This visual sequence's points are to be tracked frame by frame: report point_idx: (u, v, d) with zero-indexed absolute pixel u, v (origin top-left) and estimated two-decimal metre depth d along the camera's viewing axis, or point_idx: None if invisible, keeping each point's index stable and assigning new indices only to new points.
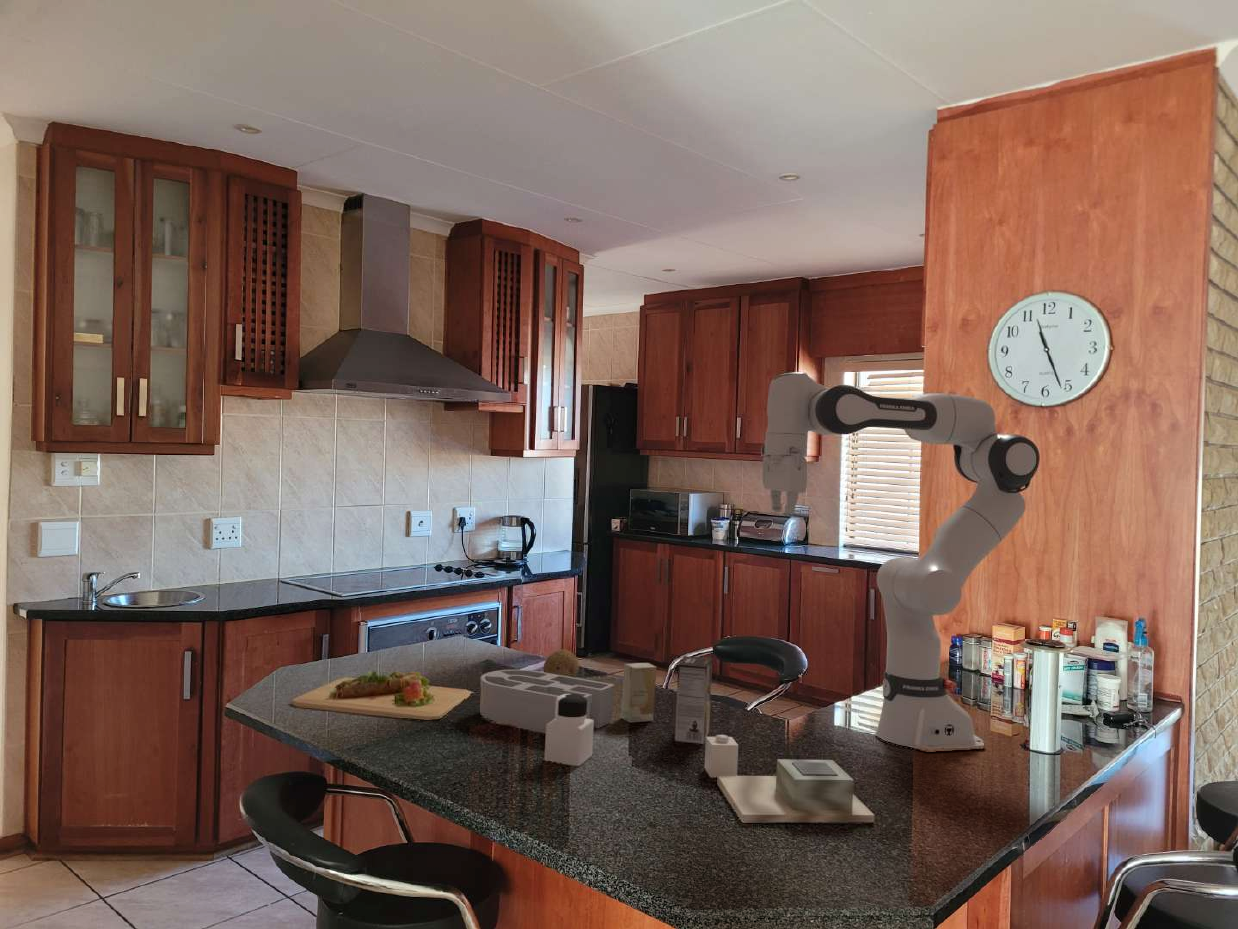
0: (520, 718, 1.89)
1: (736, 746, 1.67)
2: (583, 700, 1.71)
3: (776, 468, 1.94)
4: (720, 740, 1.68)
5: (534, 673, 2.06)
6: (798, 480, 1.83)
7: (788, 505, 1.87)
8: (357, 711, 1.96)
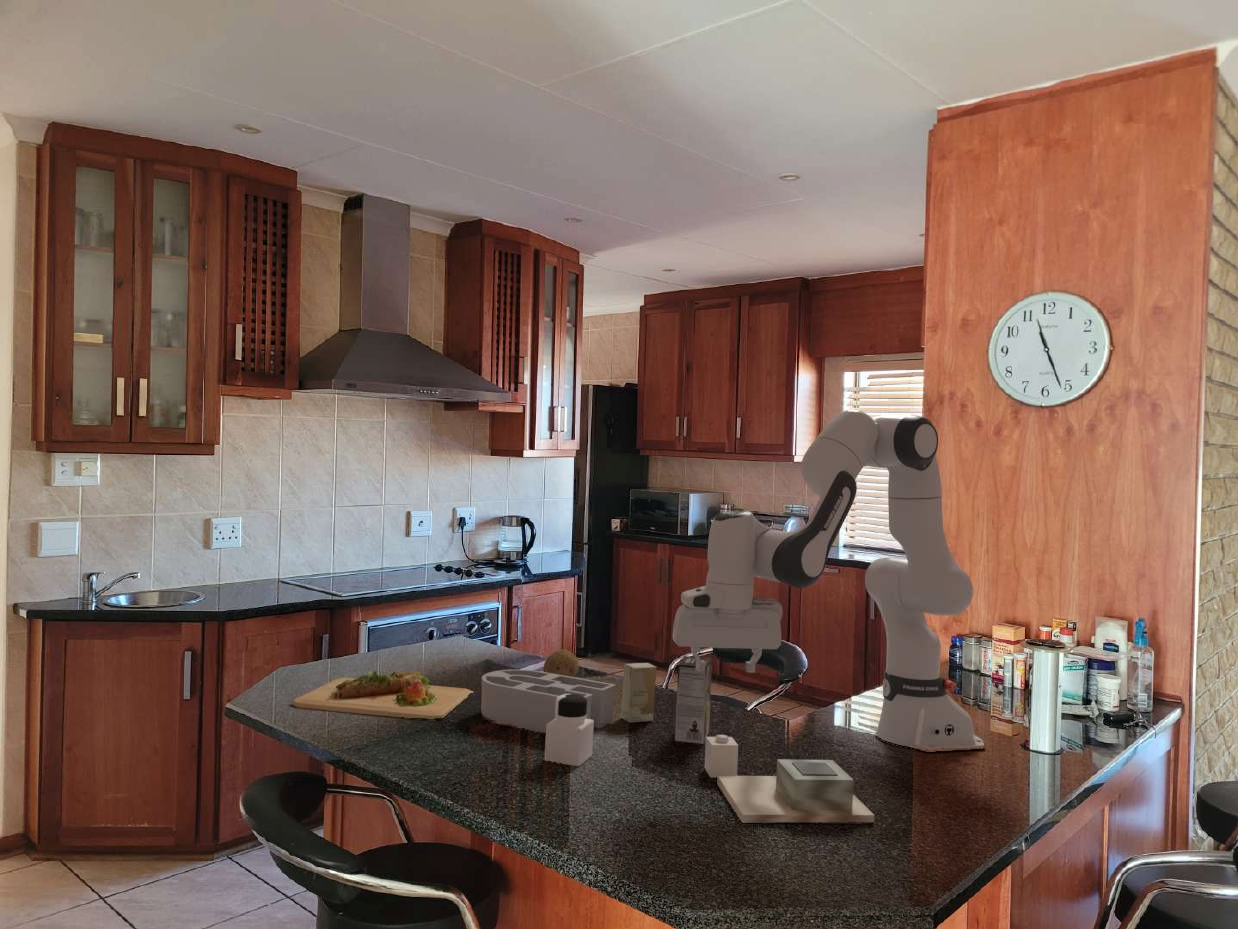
0: (521, 718, 1.89)
1: (736, 746, 1.67)
2: (583, 700, 1.71)
3: (721, 622, 1.67)
4: (720, 740, 1.68)
5: (535, 673, 2.06)
6: None
7: None
8: (360, 711, 1.96)
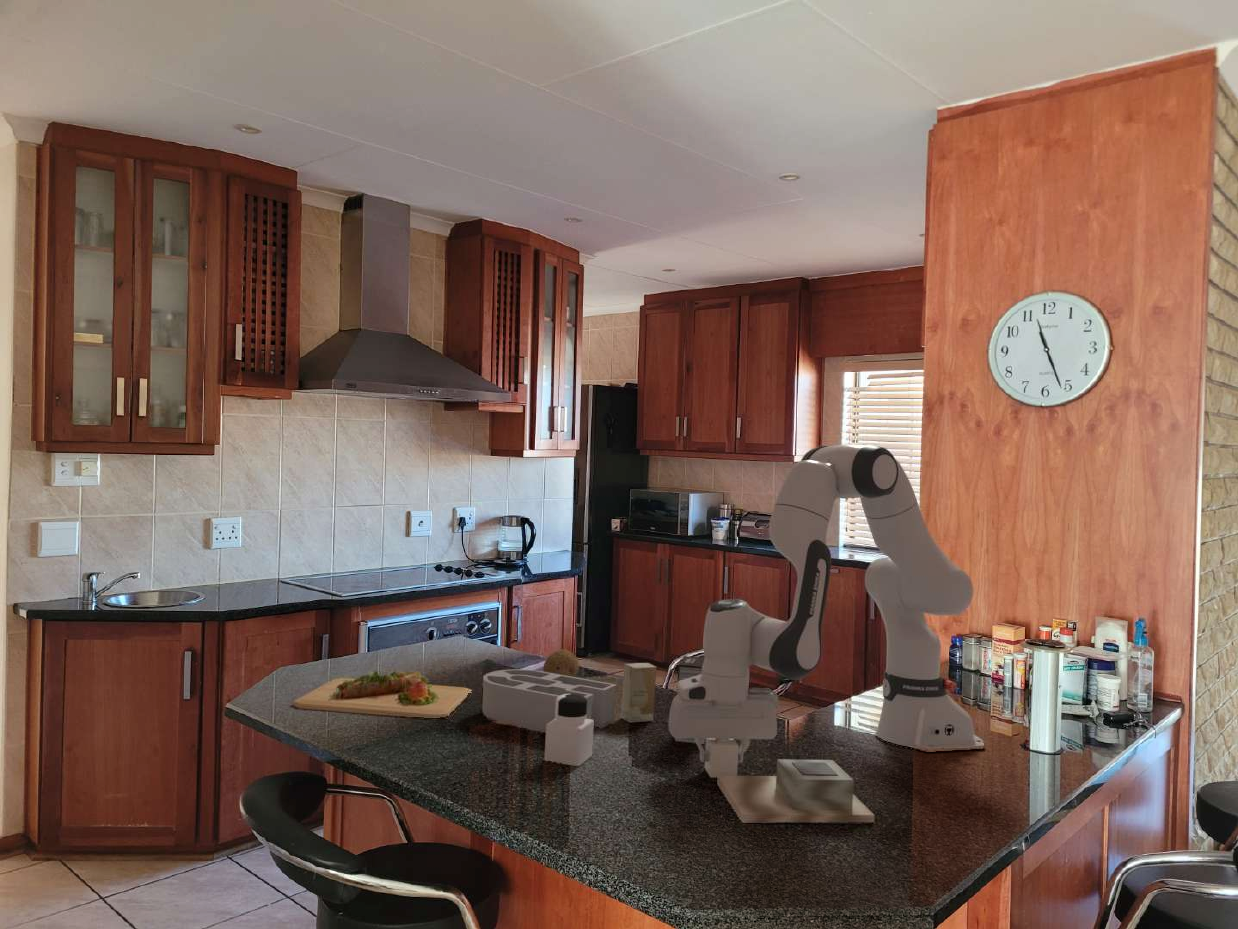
0: (522, 717, 1.90)
1: (736, 746, 1.67)
2: (583, 700, 1.71)
3: (717, 713, 1.67)
4: (721, 740, 1.68)
5: (537, 673, 2.06)
6: None
7: None
8: (363, 711, 1.96)
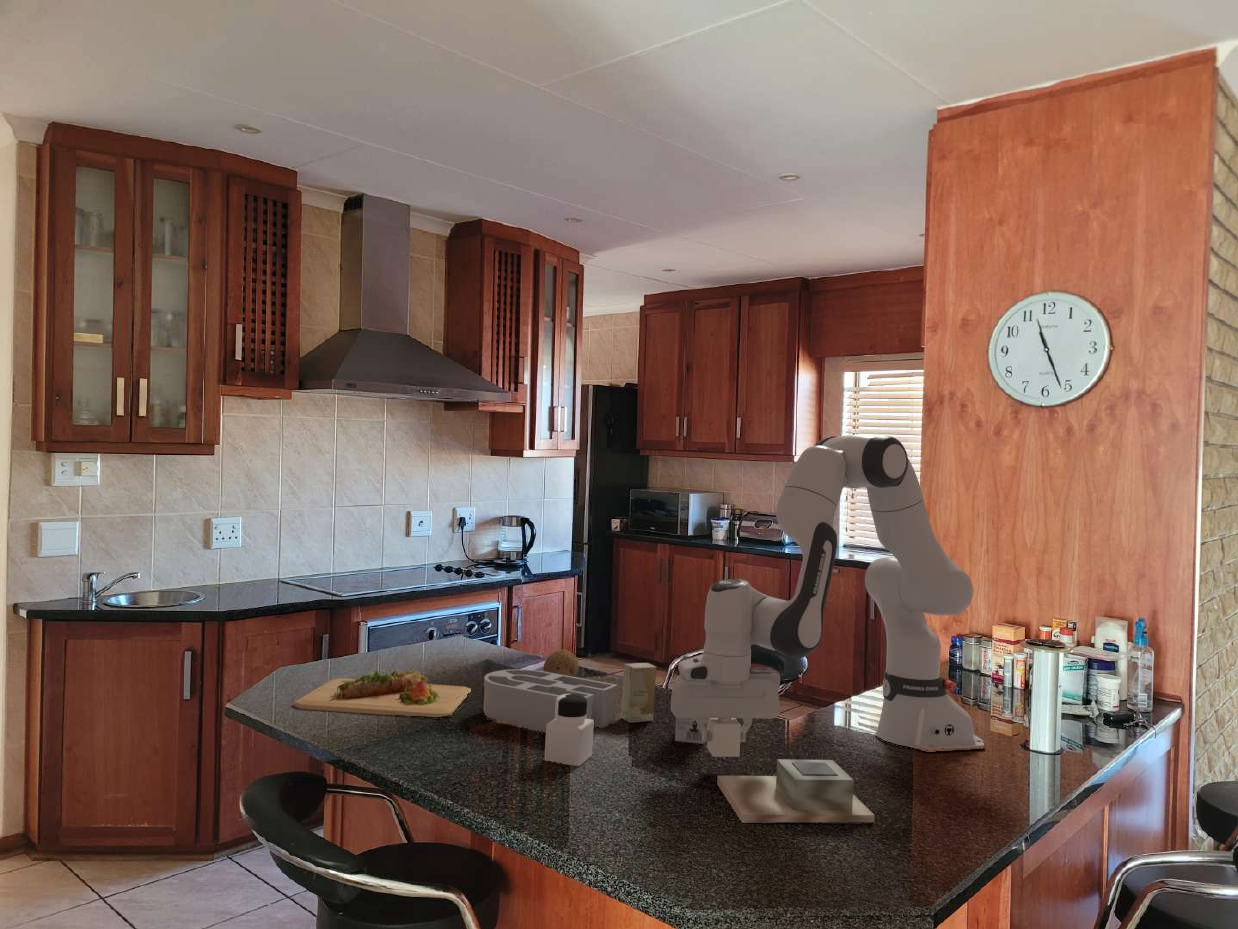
0: (523, 717, 1.90)
1: (738, 725, 1.67)
2: (583, 700, 1.71)
3: (719, 693, 1.67)
4: (723, 719, 1.68)
5: (538, 673, 2.07)
6: None
7: None
8: (365, 711, 1.96)
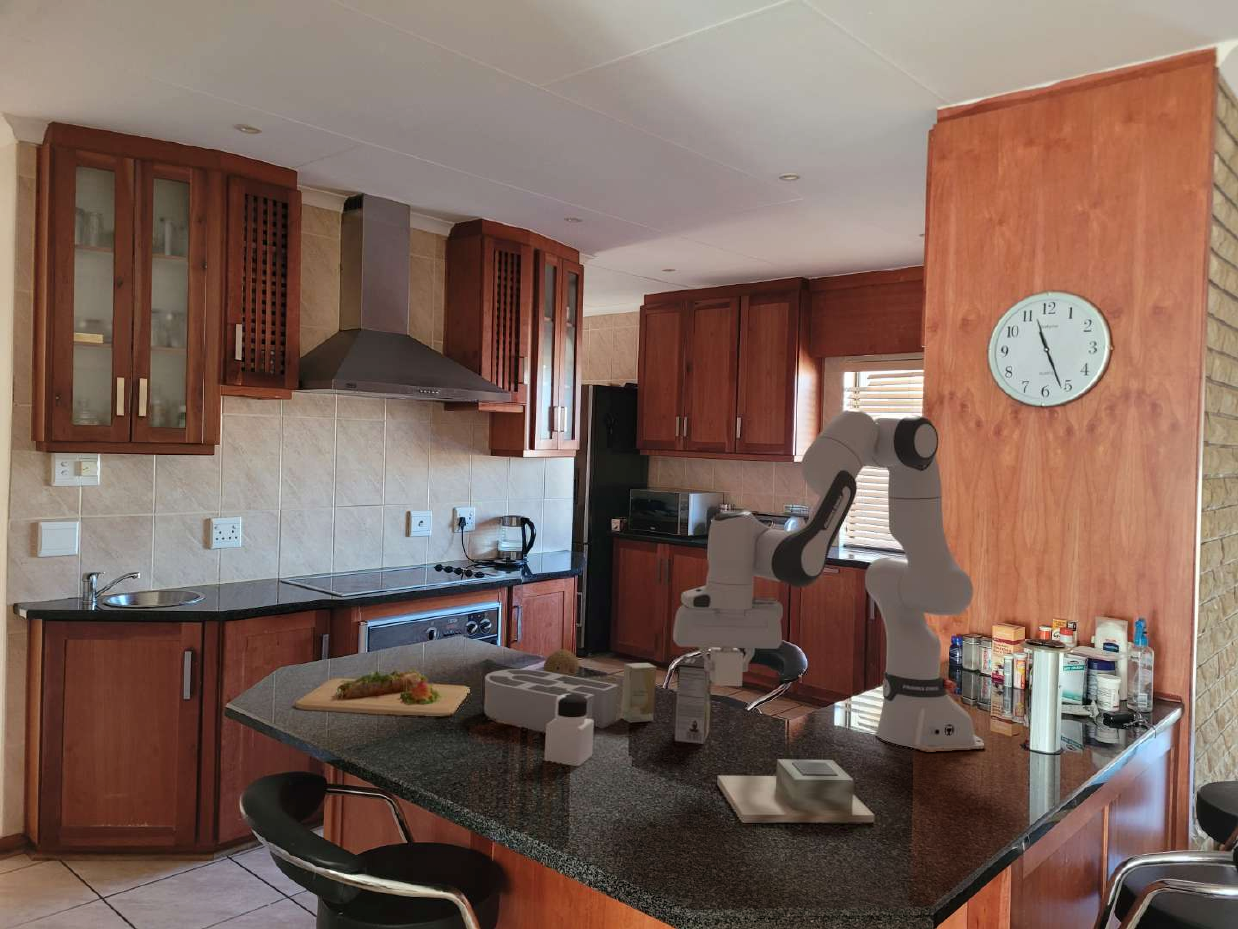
0: (523, 717, 1.90)
1: (741, 654, 1.67)
2: (583, 700, 1.71)
3: (722, 622, 1.67)
4: (725, 649, 1.68)
5: (539, 673, 2.07)
6: None
7: None
8: (367, 711, 1.96)
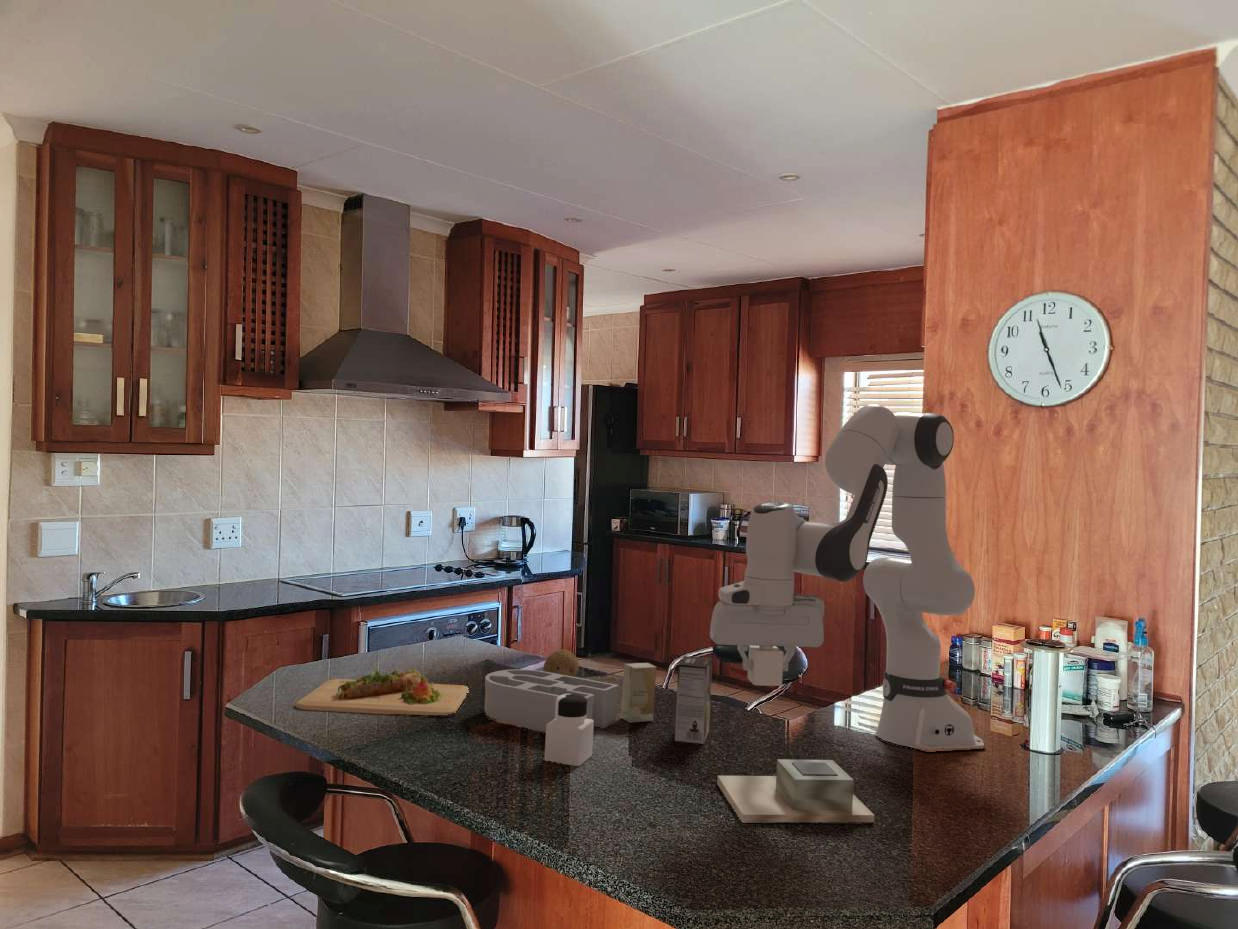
0: (523, 717, 1.90)
1: (781, 653, 1.60)
2: (583, 700, 1.71)
3: (761, 619, 1.60)
4: (765, 647, 1.61)
5: (539, 673, 2.07)
6: None
7: None
8: (369, 711, 1.96)
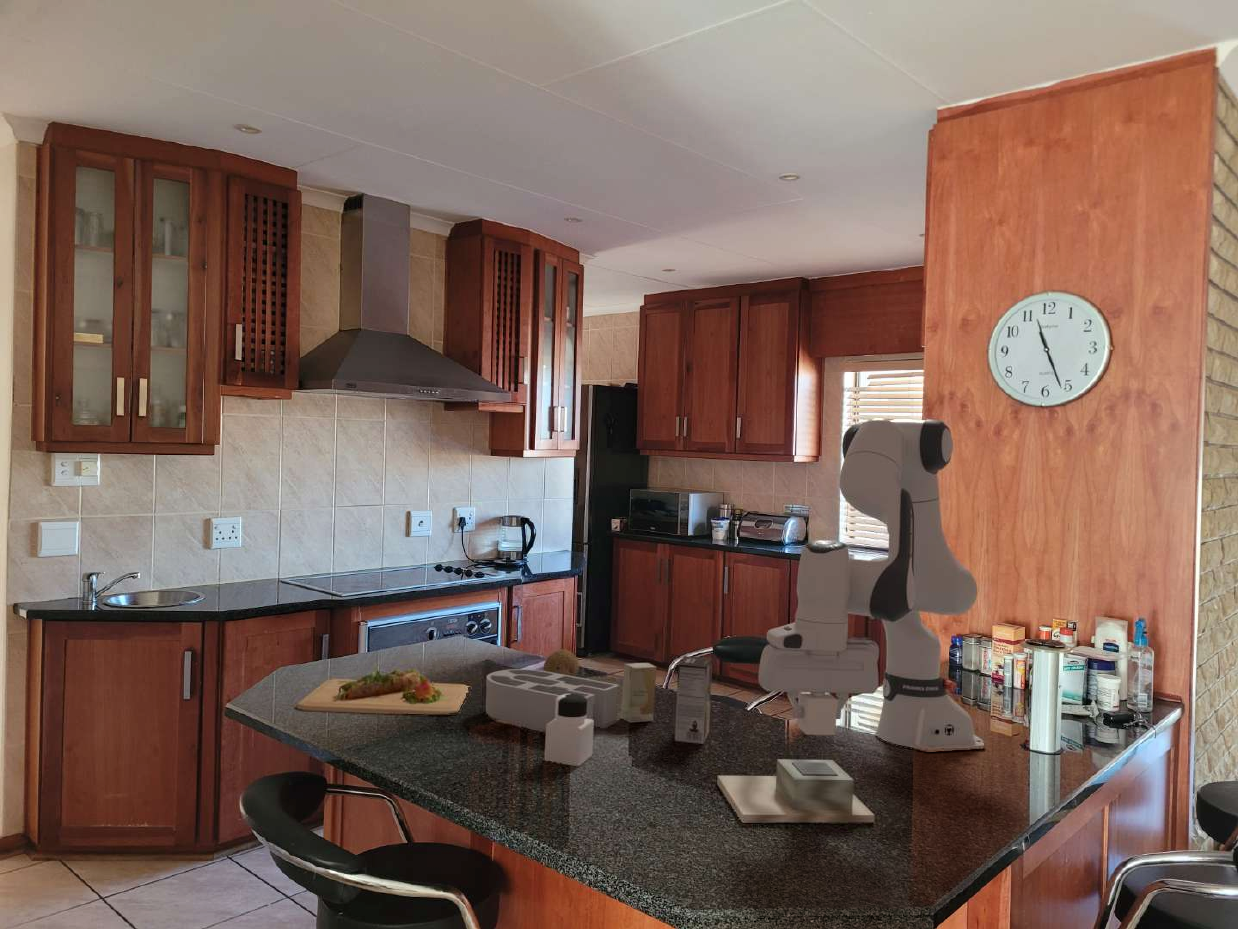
0: (524, 717, 1.90)
1: (835, 700, 1.51)
2: (583, 700, 1.71)
3: (813, 664, 1.52)
4: (817, 694, 1.52)
5: (541, 673, 2.07)
6: None
7: None
8: (372, 711, 1.96)
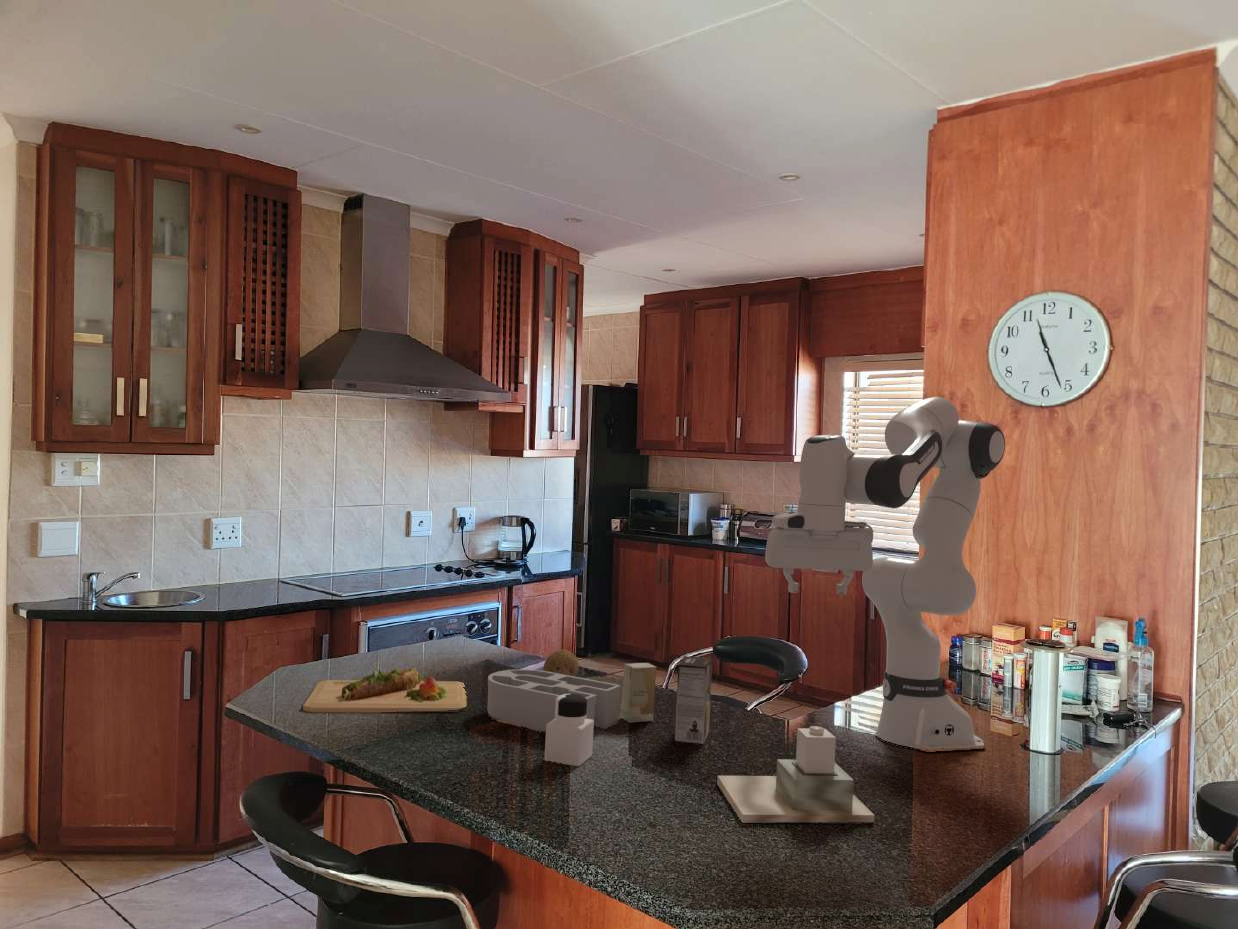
0: (525, 717, 1.90)
1: (833, 738, 1.51)
2: (583, 700, 1.71)
3: (814, 544, 1.69)
4: (815, 732, 1.52)
5: (542, 673, 2.07)
6: None
7: None
8: (380, 710, 1.97)
